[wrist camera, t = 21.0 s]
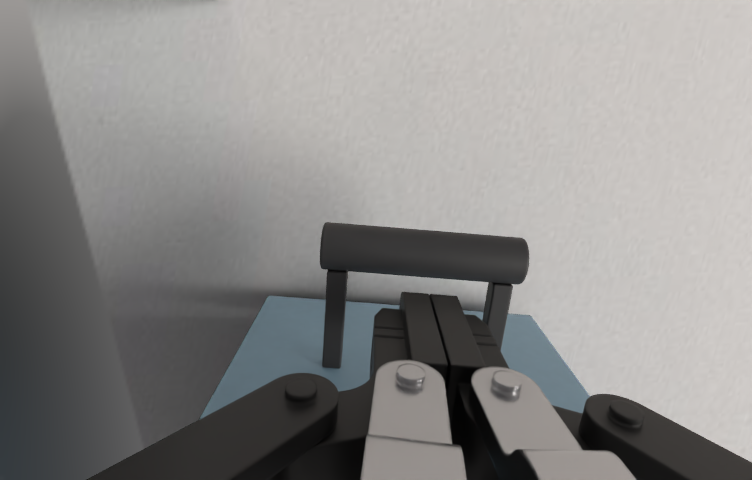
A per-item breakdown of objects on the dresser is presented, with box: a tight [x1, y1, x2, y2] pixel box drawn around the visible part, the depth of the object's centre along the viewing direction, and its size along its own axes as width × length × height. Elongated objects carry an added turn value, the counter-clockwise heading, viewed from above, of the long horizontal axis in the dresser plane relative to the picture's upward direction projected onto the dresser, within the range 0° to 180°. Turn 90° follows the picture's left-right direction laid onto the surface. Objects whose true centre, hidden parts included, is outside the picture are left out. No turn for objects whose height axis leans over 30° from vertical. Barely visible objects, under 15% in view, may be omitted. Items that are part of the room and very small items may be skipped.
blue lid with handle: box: [200, 222, 590, 419], centre depth 17 cm, size 18×11×8 cm, turn 175°
